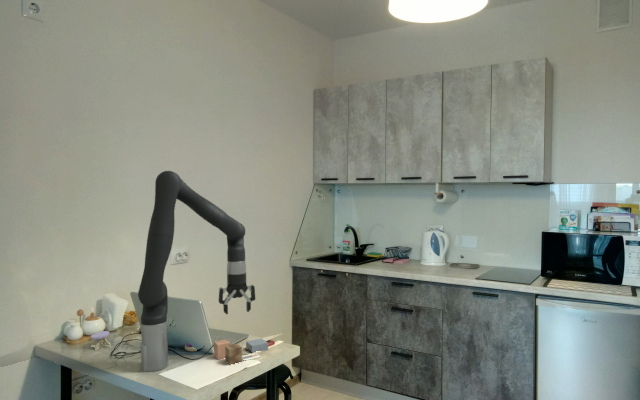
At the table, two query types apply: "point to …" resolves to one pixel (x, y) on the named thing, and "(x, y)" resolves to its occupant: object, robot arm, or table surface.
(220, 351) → the terracotta brick
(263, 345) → the base brick
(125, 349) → the table surface
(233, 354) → the walnut brick
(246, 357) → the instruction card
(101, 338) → the toy table
